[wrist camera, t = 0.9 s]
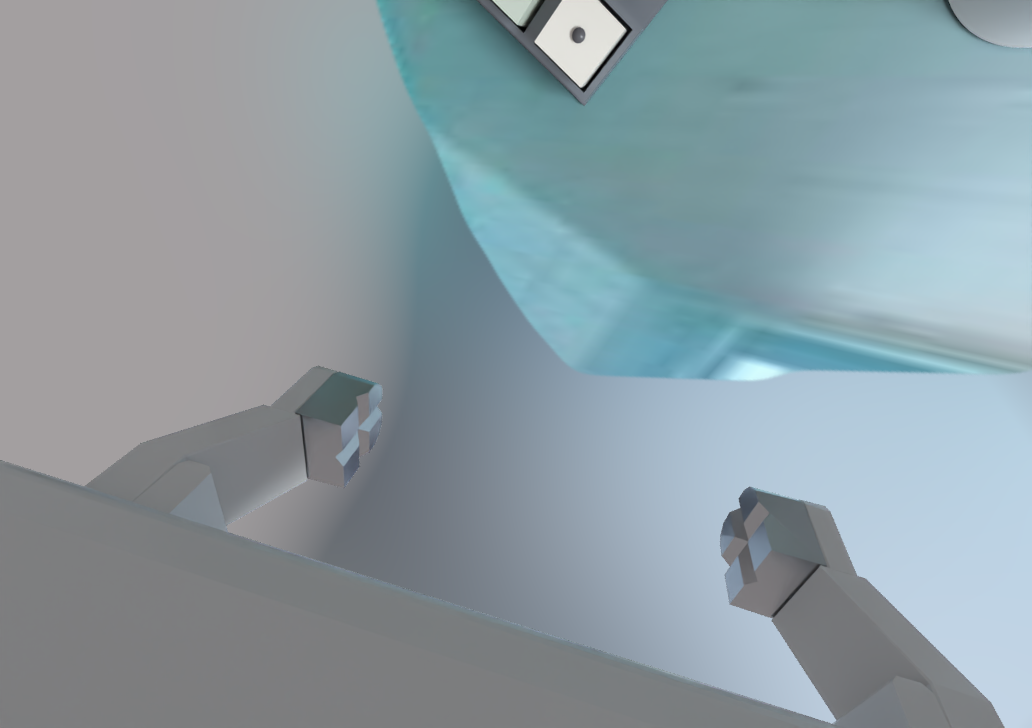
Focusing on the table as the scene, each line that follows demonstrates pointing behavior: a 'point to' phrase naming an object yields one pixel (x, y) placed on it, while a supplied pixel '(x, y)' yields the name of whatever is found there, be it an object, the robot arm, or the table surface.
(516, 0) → the tile two
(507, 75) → the table surface
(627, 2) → the console
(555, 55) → the tile one
